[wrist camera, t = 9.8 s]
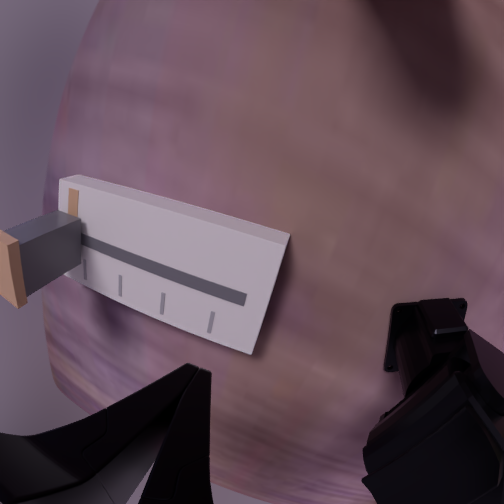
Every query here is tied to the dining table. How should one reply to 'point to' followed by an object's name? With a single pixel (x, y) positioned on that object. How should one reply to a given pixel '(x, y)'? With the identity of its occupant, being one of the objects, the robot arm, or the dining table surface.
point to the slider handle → (38, 254)
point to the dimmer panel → (175, 259)
